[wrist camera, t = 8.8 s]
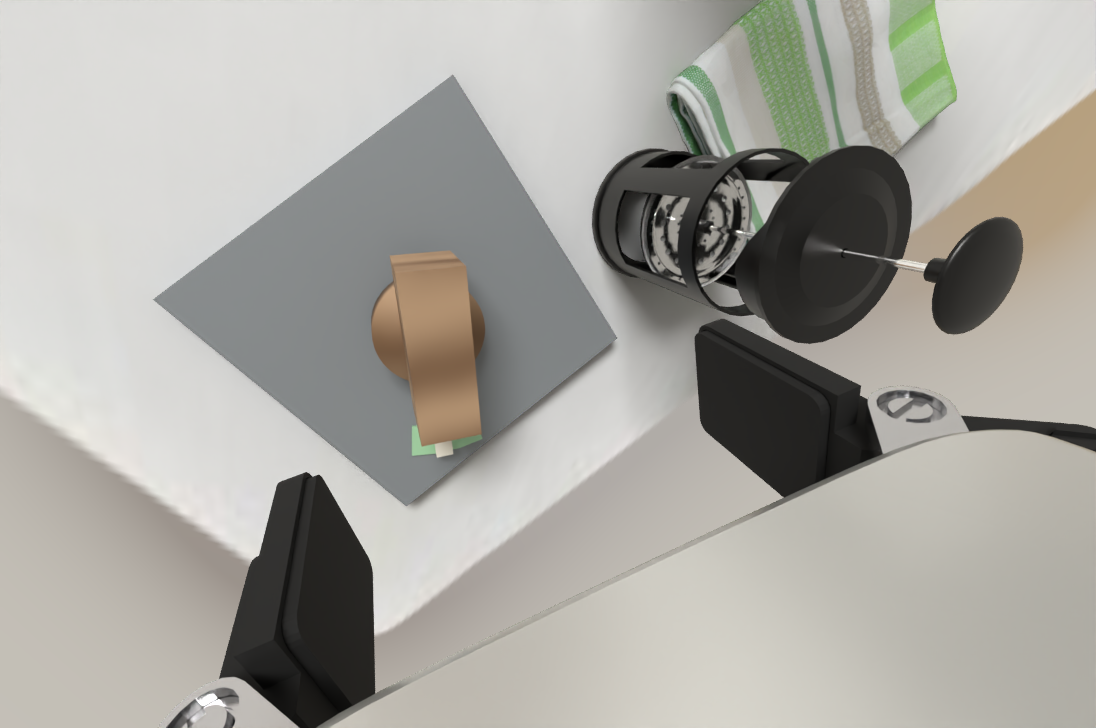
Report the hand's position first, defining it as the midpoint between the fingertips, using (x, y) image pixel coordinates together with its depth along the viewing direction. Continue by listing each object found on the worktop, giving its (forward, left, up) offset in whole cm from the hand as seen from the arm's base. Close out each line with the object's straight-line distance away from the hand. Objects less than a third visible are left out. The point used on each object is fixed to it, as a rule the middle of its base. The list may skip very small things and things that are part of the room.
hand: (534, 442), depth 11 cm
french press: (-16, +8, -24) cm, 30 cm away
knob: (+4, +5, -22) cm, 23 cm away
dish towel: (-32, +9, -25) cm, 41 cm away
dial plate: (+2, +3, -24) cm, 24 cm away
